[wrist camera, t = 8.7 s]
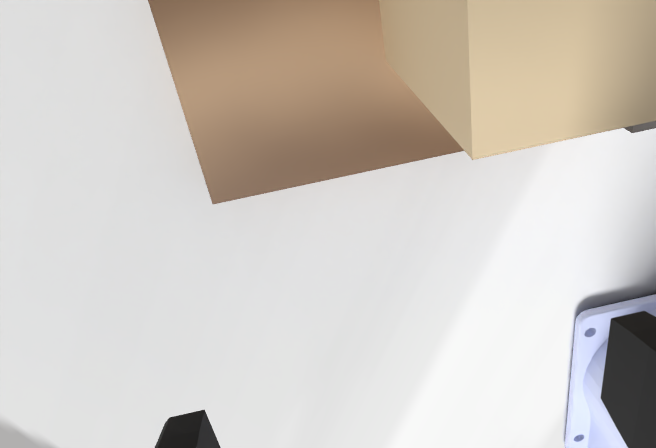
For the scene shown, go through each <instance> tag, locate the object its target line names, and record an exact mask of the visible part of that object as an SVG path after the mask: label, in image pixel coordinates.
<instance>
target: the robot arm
mask: <svg viewBox="0 0 656 448" xmlns="http://www.w3.org/2000/svg"><path fill="white" fill-rule="evenodd" d="M587 329H588V330H587ZM155 448H220V446H219V443H218V441H217V438H216V436H215V434H214V431H213V429H212V426H211V424H210V422H209V419H208V417H207V415H206V412H205V410H201V411H197V412H192V413H188V414H183V415H179V416H175V417H170V418H169V419H168V420H167V422H166V423H165V425H164V427H163V430H162V432H161V434H160V437H159V439H158V442H157V444H156V446H155ZM565 448H656V294H655V295H650V296H646V297H641V298H637V299H632V300H628V301H623V302H619V303H614V304H610V305H606V306H601V307H597V308H592V309H588V310H585V311H583V312H581V313H580V314H579V315H578V316H577V318H576V322H575V334H574V345H573V357H572V368H571V380H570V391H569V403H568V414H567V426H566V437H565Z"/></svg>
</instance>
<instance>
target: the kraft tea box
mask: <svg viewBox="0 0 656 448" xmlns="http://www.w3.org/2000/svg"><path fill="white" fill-rule="evenodd" d="M379 4H380V13H381V21H382V30H383V39H384V48H385V57H386V62H387V63H388V64H389V65H390V66H391V67H392V68H393V70H394V71H395V72H396V73H397V74H398V75H399V76H400V78H401V79H402V80H403V81H404V82H405V83H406V84H407V86H408V87H409V88H410V89H411V90H412V91H413V92H414V94H415V95H416V96H417V97H418V98H419V99H420V100H421V102H422V103H423V104H424V105H425V106H426V107H427V108H428V109H429V111H430V112H431V113H432V114H433V115H434V116H435V117H436V119H437V120H438V121H439V122H440V123H441V124H442V125H443V127H444V128H445V129H446V130H447V131H448V132H449V133H450V135H451V136H452V137H453V138H454V139H455V140H456V141H457V143H458V144H459V145H460V146H461V147H462V148H463V149H464V151H465V152H466V153H467V154H468V155H469V156H470V157H471V159H472V160H475V159H479V158H484V157H489V156H493V155H498V154H503V153H507V152H512V151H517V150H521V149H526V148H531V147H535V146H540V145H545V144H549V143H554V142H559V141H563V140H568V139H573V138H577V137H582V136H587V135H591V134H596V133H601V132H605V131H610V130H615V129H619V128H624V127H629V126H633V125H638V124H643V123H647V122H652V121H656V0H379Z"/></svg>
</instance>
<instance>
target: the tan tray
mask: <svg viewBox="0 0 656 448" xmlns="http://www.w3.org/2000/svg"><path fill="white" fill-rule="evenodd" d="M148 1H149V5H150V8H151V11H152V14H153V17H154V20H155V24H156V27H157V30H158V33H159V36H160V39H161V42H162V46H163V49H164V52H165V55H166V58H167V61H168V65H169V68H170V71H171V74H172V77H173V80H174V83H175V87H176V90H177V93H178V96H179V99H180V102H181V106H182V109H183V112H184V115H185V118H186V121H187V124H188V128H189V131H190V134H191V137H192V140H193V143H194V147H195V150H196V153H197V156H198V159H199V162H200V165H201V169H202V172H203V175H204V178H205V181H206V184H207V188H208V191H209V194H210V197H211V200H212V203H213V204H217V203H221V202H226V201H231V200H235V199H240V198H245V197H249V196H254V195H259V194H264V193H268V192H273V191H278V190H282V189H287V188H292V187H296V186H301V185H306V184H310V183H315V182H320V181H324V180H329V179H334V178H338V177H343V176H348V175H352V174H357V173H362V172H366V171H371V170H376V169H381V168H385V167H390V166H395V165H399V164H404V163H409V162H413V161H418V160H423V159H427V158H432V157H437V156H441V155H446V154H451V153H455V152H460V151H464V149H463V148H462V147H461V146H460V145H459V144H458V143H457V141H456V140H455V139H454V138H453V137H452V136H451V135H450V133H449V132H448V131H447V130H446V129H445V128H444V127H443V125H442V124H441V123H440V122H439V121H438V120H437V119H436V117H435V116H434V115H433V114H432V113H431V112H430V111H429V109H428V108H427V107H426V106H425V105H424V104H423V103H422V102H421V100H420V99H419V98H418V97H417V96H416V95H415V94H414V92H413V91H412V90H411V89H410V88H409V87H408V86H407V84H406V83H405V82H404V81H403V80H402V79H401V78H400V76H399V75H398V74H397V73H396V72H395V71H394V70H393V68H392V67H391V66H390V65H389V64H388V63H387V62H386V57H385V48H384V39H383V30H382V21H381V13H380V4H379V0H148ZM624 128H625V129H626V130H628V131H630V132H631V133H635V132H640V131H644V130H649V129H654V128H656V121H652V122H647V123H643V124H638V125H633V126H629V127H624Z"/></svg>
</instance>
